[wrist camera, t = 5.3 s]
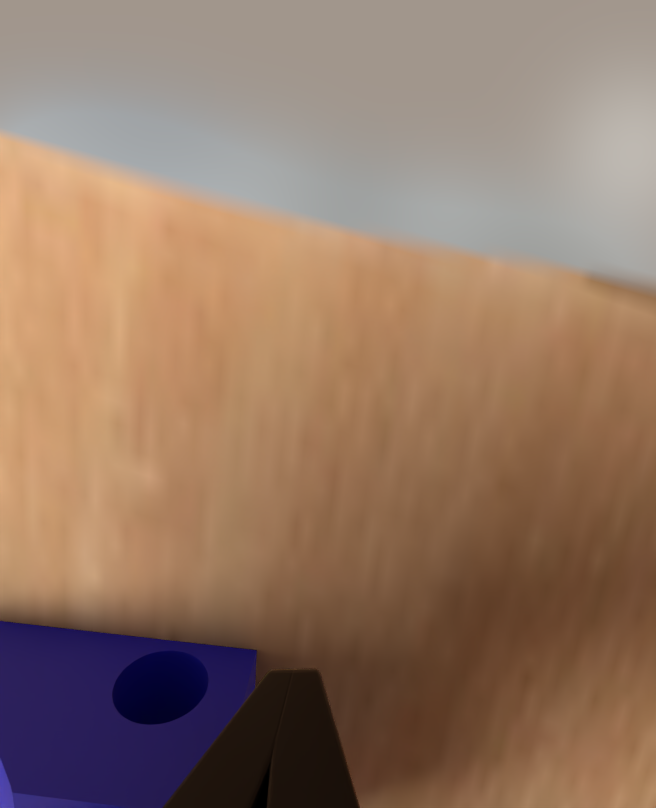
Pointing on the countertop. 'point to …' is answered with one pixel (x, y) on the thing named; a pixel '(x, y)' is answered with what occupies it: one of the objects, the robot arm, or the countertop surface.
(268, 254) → the countertop surface
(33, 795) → the blue cradle bracket
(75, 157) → the countertop surface
